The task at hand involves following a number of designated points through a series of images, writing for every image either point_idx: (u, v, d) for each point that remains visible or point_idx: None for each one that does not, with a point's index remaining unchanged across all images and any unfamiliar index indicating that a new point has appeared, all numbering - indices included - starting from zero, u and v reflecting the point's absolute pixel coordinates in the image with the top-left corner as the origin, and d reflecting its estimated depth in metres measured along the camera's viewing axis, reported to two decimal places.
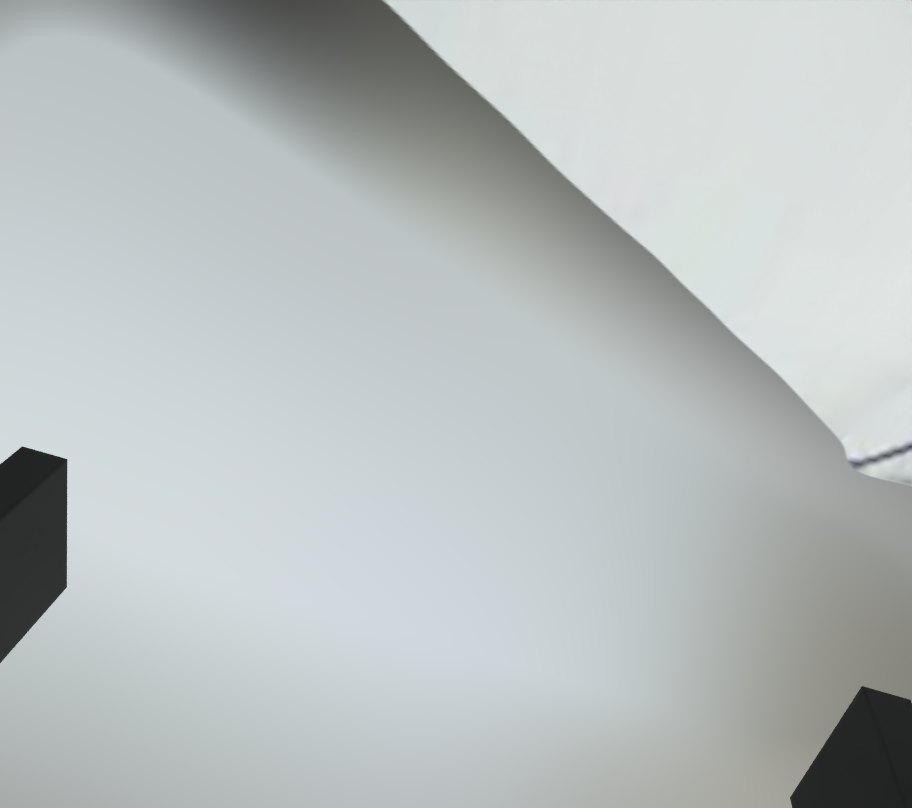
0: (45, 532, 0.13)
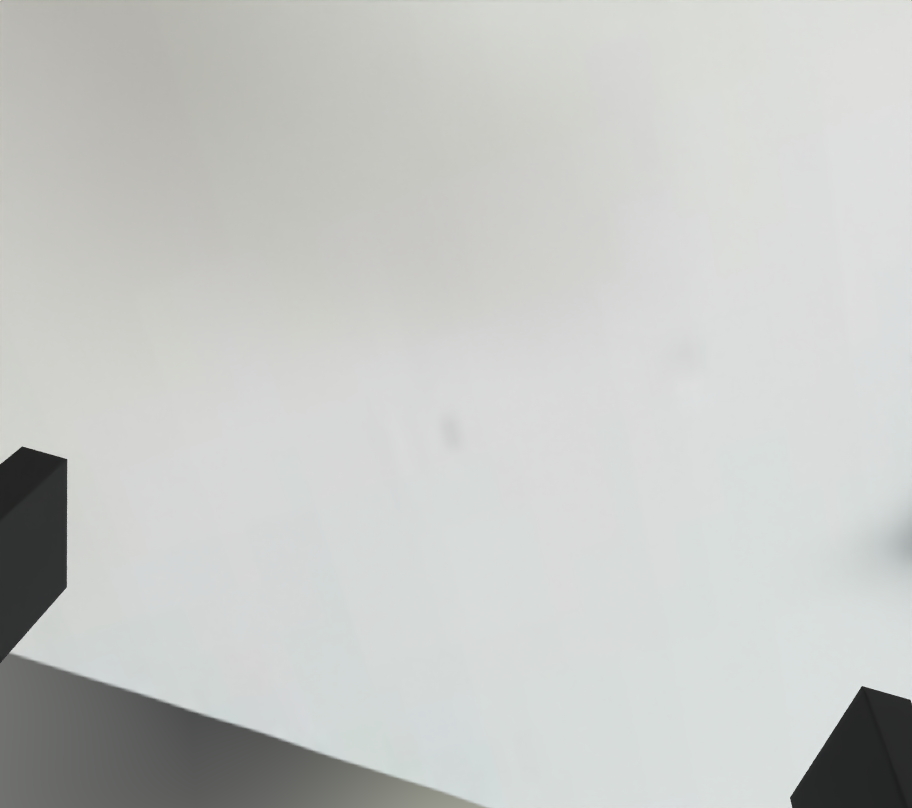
0: (45, 532, 0.13)
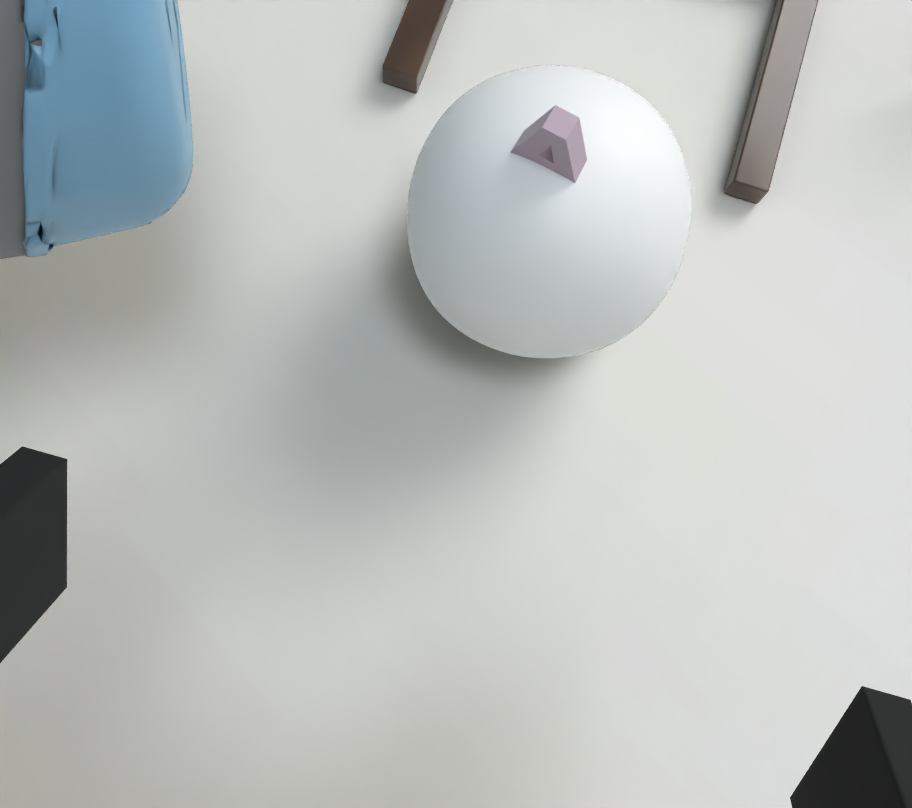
0: (45, 532, 0.13)
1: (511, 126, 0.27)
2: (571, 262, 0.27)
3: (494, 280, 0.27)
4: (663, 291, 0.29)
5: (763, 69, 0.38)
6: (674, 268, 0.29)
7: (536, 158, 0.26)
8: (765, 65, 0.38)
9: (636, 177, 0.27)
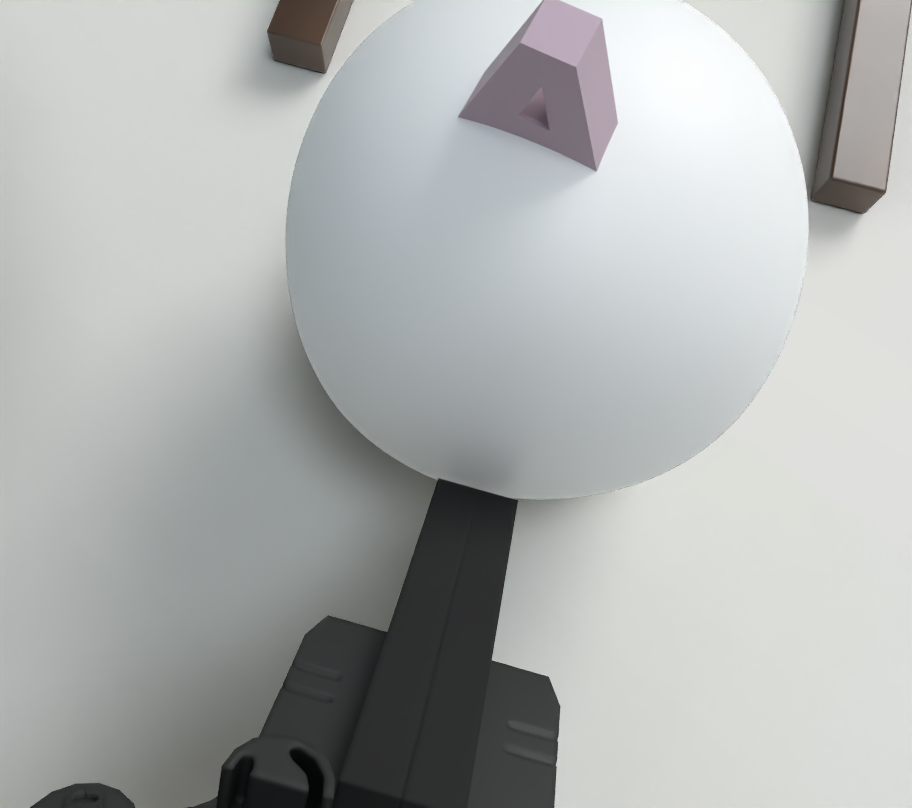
0: None
1: (458, 66, 0.13)
2: (596, 334, 0.13)
3: (443, 378, 0.14)
4: (767, 374, 0.16)
5: (855, 10, 0.25)
6: (787, 330, 0.15)
7: (512, 123, 0.12)
8: (858, 4, 0.25)
9: (720, 156, 0.13)
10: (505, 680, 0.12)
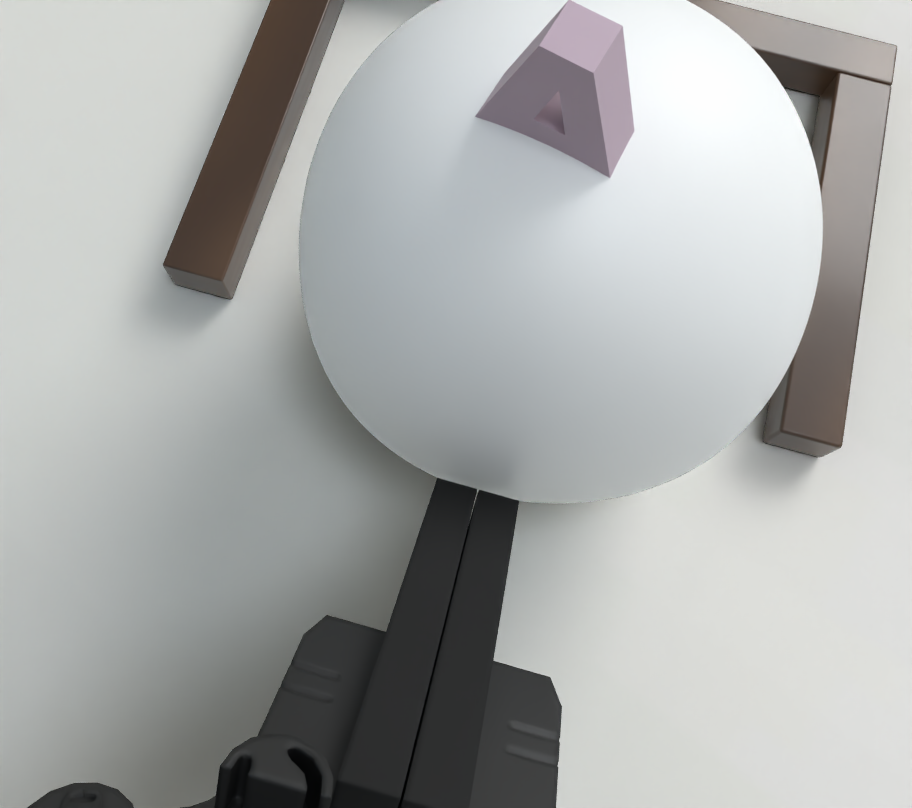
0: None
1: (479, 66, 0.13)
2: (601, 341, 0.13)
3: (446, 376, 0.14)
4: (772, 391, 0.15)
5: None
6: (795, 348, 0.15)
7: (528, 126, 0.12)
8: None
9: (735, 169, 0.13)
10: (507, 681, 0.12)
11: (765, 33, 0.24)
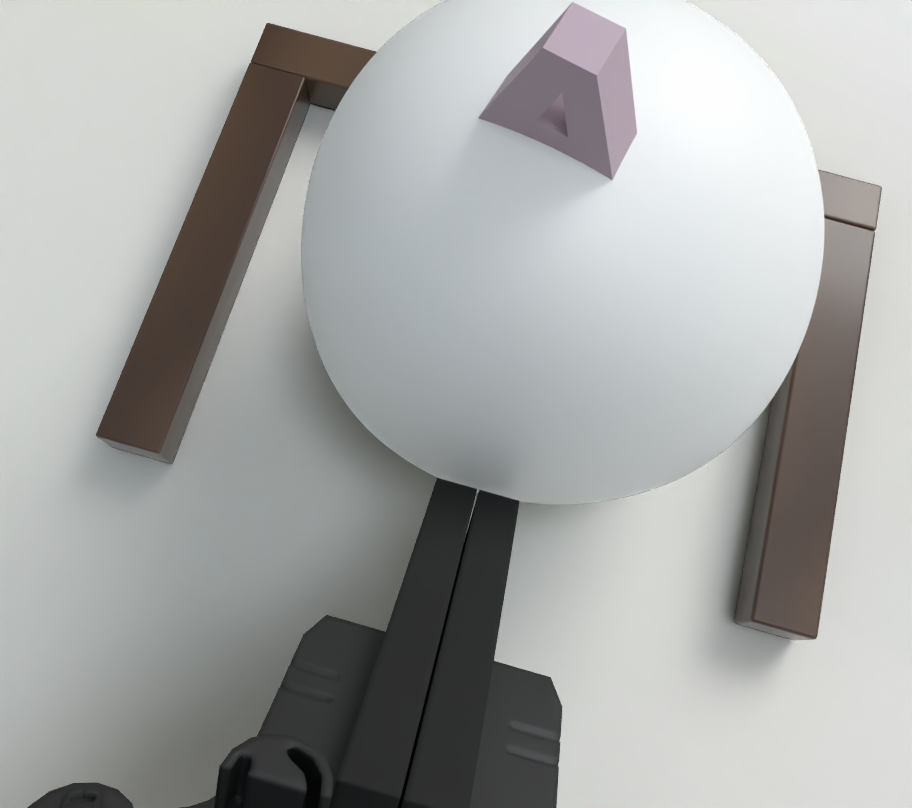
0: None
1: (482, 67, 0.13)
2: (602, 342, 0.13)
3: (448, 376, 0.14)
4: (773, 393, 0.16)
5: (788, 390, 0.21)
6: (796, 351, 0.15)
7: (531, 127, 0.12)
8: (791, 383, 0.21)
9: (736, 171, 0.13)
10: (507, 681, 0.12)
11: None
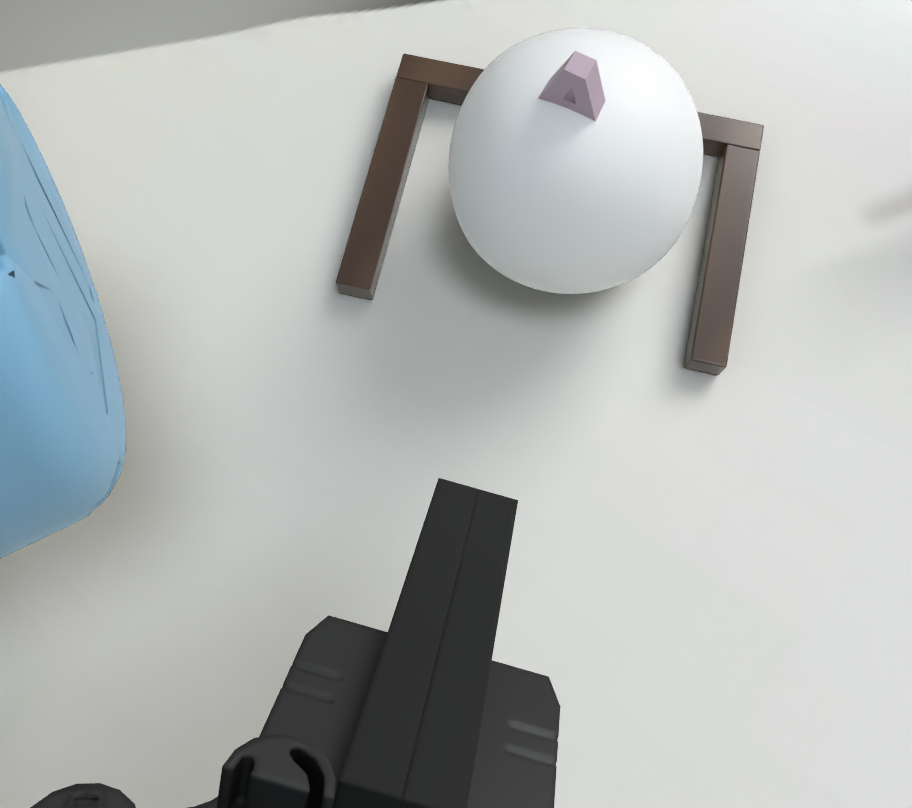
0: None
1: (538, 76, 0.31)
2: (594, 191, 0.30)
3: (527, 213, 0.31)
4: (680, 222, 0.33)
5: (710, 240, 0.38)
6: (689, 200, 0.32)
7: (560, 101, 0.30)
8: (711, 236, 0.38)
9: (650, 116, 0.30)
10: (505, 680, 0.12)
11: None
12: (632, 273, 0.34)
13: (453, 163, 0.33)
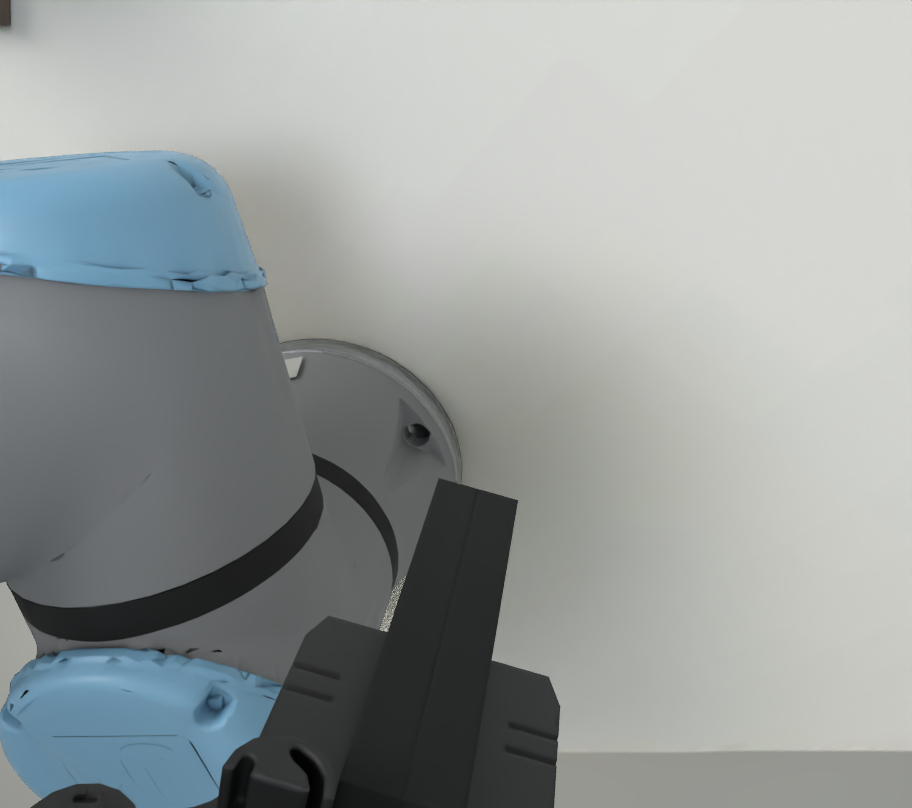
0: None
1: None
2: None
3: None
4: None
5: None
6: None
7: None
8: None
9: None
10: (505, 680, 0.12)
11: None
12: None
13: None
